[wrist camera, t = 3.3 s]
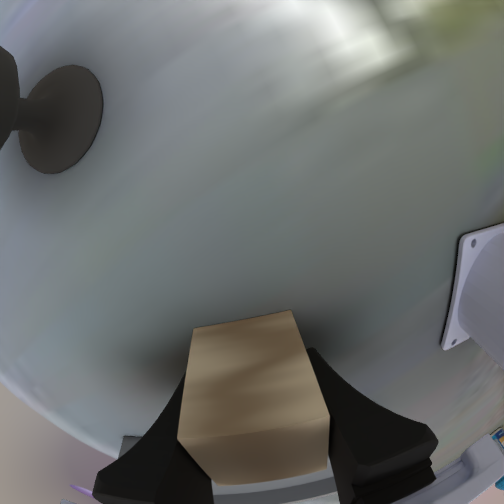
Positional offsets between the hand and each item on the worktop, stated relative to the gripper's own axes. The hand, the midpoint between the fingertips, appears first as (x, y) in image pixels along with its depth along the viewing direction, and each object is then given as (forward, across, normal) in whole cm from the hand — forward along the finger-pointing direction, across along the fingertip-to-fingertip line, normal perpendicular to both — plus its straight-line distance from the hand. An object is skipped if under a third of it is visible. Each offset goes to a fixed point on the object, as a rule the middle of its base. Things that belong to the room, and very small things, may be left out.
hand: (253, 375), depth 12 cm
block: (+1, 0, 0) cm, 1 cm away
